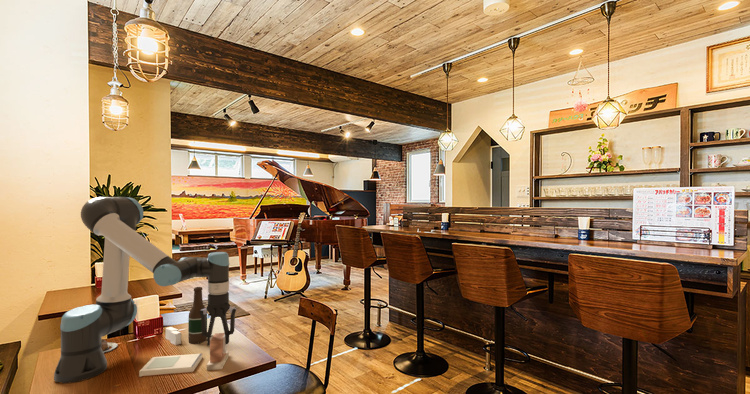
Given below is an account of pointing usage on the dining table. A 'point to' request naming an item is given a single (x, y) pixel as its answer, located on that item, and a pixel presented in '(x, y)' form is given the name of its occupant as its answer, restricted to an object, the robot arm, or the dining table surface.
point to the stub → (217, 353)
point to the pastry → (107, 345)
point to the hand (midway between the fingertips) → (218, 352)
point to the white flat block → (171, 364)
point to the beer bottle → (196, 319)
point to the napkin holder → (173, 335)
